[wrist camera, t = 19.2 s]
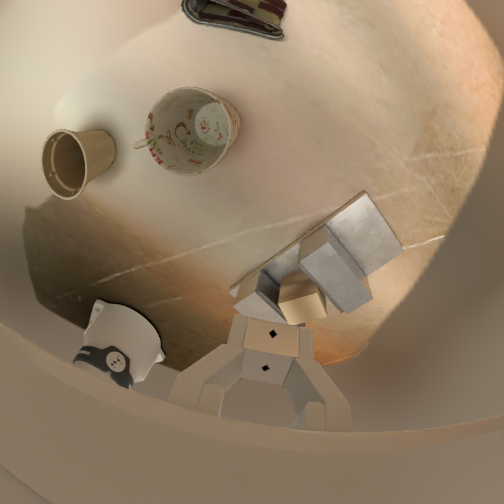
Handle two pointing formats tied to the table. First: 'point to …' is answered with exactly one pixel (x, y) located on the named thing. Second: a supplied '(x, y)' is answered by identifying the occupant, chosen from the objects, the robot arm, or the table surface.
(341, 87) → the table surface
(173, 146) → the mug
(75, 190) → the flower pot
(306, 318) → the block
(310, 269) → the block
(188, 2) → the chocolate cake
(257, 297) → the vise base
